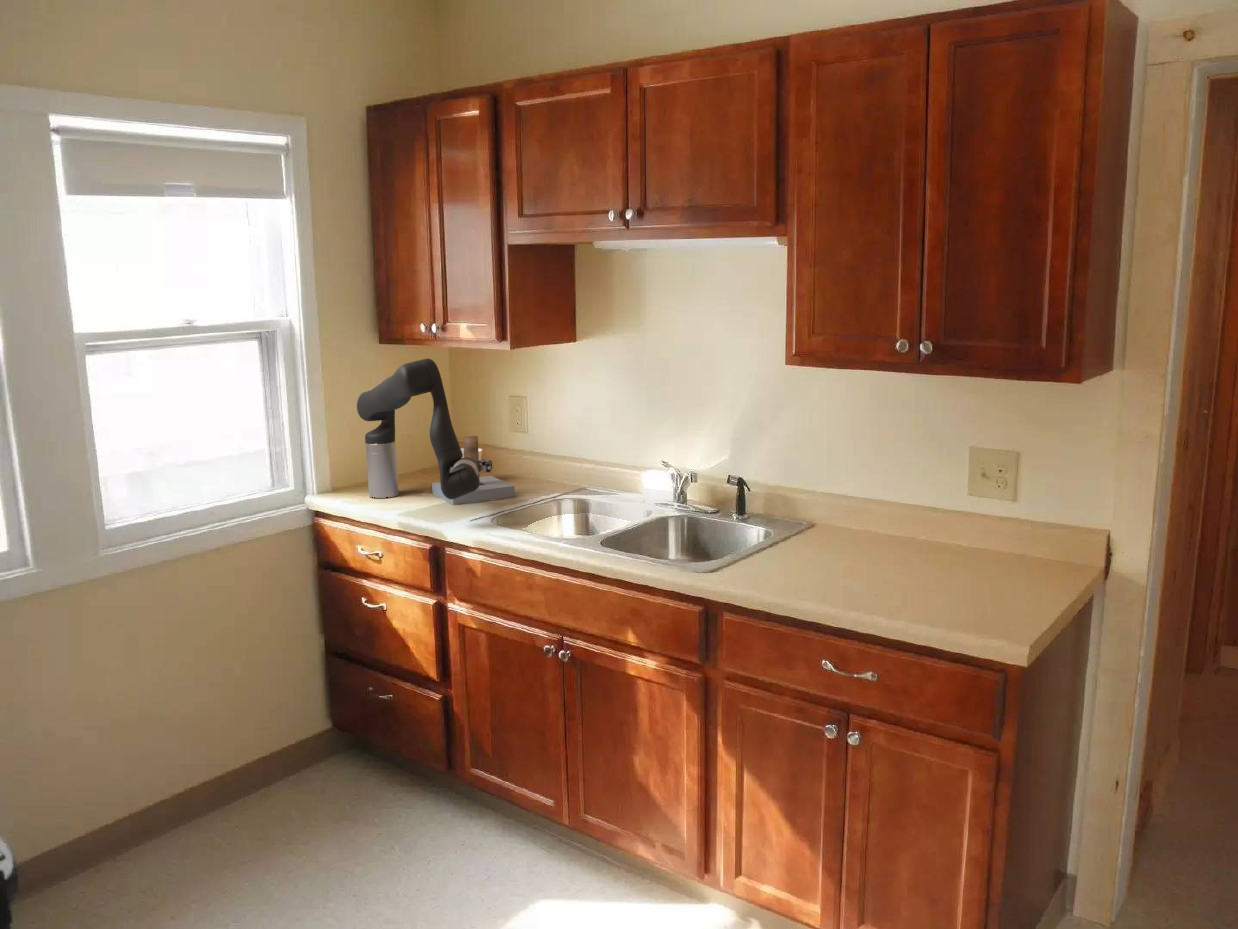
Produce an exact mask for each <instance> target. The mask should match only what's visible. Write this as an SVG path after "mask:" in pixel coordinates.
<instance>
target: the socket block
mask: <svg viewBox="0 0 1238 929" xmlns="http://www.w3.org/2000/svg"><path fill="white" fill-rule="evenodd" d="M431 488H432V489H431V490H432V492H431V493H434V494H435V496H436V495H437V496H436V497H438V498H440V497H441V498H440V499H442V498H443V499H444V500H443V499H442V500H443V501H445V500H446V502H447V503H449V504H451V503H452V504H451V505H452V506H455V505H454V504H457V505H462V504H461V503H464V504H471V503H479V502H487V501H492V500H491V499H495V500H500V499H499V498H503V499H507V498H506V497H510V498H515V496H516V492H515V485H513V484H511V483H509V482H506V481H504V480H502V479H500V478H497V477H495V476H492V475H488V476H480V485H479V487H478V489H477V490H475V491H473V492H471V493H468V494H466V495H463V496H460V497H458V498H455V499H448V498H446V497H445V496H444V494H443V493H442V490H441V484H440V481H435V482H431ZM434 494H433V495H434ZM486 500H487V501H486Z"/></svg>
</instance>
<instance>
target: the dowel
mask: <svg viewBox="0 0 1238 929" xmlns="http://www.w3.org/2000/svg"><path fill="white" fill-rule="evenodd" d="M462 440H463V442H462V443H463V445H462V446H463V448H464V457H468V458H472V459H473V460H475V461H477V460H479V453H478V448H479V437H478V436H477V435H467V436H463V437H462ZM480 477H481V476H480V473H479V474H478V478H479V485H480Z"/></svg>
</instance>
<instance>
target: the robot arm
mask: <svg viewBox="0 0 1238 929" xmlns="http://www.w3.org/2000/svg"><path fill="white" fill-rule="evenodd" d="M443 383H444V382H443V380H442V377H441V373H440V370H439V367H438V366H437V363H436V362H435V361H434V360H433V359H431V358H424V359H419V360H416V361H415V360H414V361H410V362H407V363H404V364H402V365H400V366H399V367H397V369H396V370H395V372H394V373H393V374H392V375H391V376H389V377H387V378H385V379H384V380H383V381H382V382H380V383H379V384H378V385H376V386H374V387H373V388H372V389H370V390H367V391H365V392H362V393H360V395H359V396H358V399H357V402H356V411H357V414H358V415H359V417H360V419H362V420H363V421H366V422H378V421H381V422H380V424H379V425H378V426H377V427H376V428H374V429H372V430H370V431H368V432H366V433H365V435H364V441H365V444H364V445H365V455H366V457H365V459H366V471H367V483H368V484H367V486H368V487H367V488H368V496H369V498H372V497H373V499H387V498H386V497H388V498H393V497H397V496H399V495H400V492H399V491H400V490H399V478H398V477H399V476H398V461H397V460H398V459H397V448H396V447H397V445H396V444H397V443H396V410H399V409H400V408H402V407H404V406H406V404H408V403H409V402H410V400H411V399H412V397H415V396H421V395H423V394H427V393H430V394H431V398H432V401H433V409H432V411H433V412H432V416H431V417H432V418H431V421H430V422H431V423H430V425H429V426H430V427H429V439H430V444H431V446H432V448H433V449H432V450H433V451H434V455H435V456H436V460H437V464H438V470H439V479H440V480H439V482H440V484H441V490H442V493H443V494H444V496H445V497H446V498H448V499H455V498H458V497H460V496H463V495H466V494H468V493H471V492H473V491H475V490H477V489H478V487H479V478H478V474H479V475H480V473H482V472H483V470H484V471H485V472H486V473H490V472H491V471H493V460H486V459H485V458H483V459H482V458H481V461H480V460H477V461H475V460H473V459H472V458H468V457H464V458H462V456H463V454H462V451H461V449H462V448H461V445H460V443H459V441H458V438H457V436H456V433H455V432H456V431H455V430H454V427H453V422H452V419H451V416H450V410H449V405H448V402H447V396H446V392H445V388H444V384H443ZM374 497H375V498H374Z"/></svg>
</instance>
